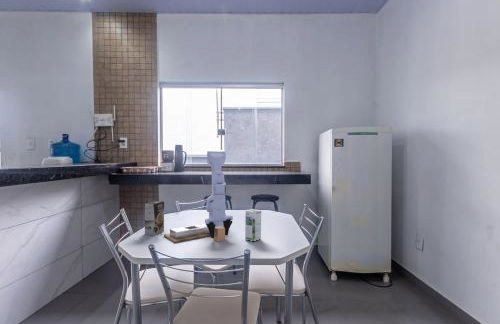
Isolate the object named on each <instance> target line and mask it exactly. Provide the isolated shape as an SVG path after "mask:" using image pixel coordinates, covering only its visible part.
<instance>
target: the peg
mask: <svg viewBox="0 0 500 324" xmlns="http://www.w3.org/2000/svg"><path fill="white" fill-rule="evenodd" d="M213 241H215V242H222V241H226V235H225V228H224V227H221V226H219V227H215V231H214V238H213Z"/></svg>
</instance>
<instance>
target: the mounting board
mask: <svg viewBox="0 0 500 324" xmlns="http://www.w3.org/2000/svg"><path fill="white" fill-rule="evenodd" d="M163 237H164V238H165V239H167V240H168V241H171V242H172V243H174V244H177V243H183V242H187V241H193V240H198V239H203V238H209V237H211V236H210V233H204V234H199V235H193V236H188V237H182V238H177V239H176V238H174V237H172V236H171V235H170V232H169V233H165V234H163Z"/></svg>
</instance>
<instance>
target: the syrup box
mask: <svg viewBox="0 0 500 324" xmlns="http://www.w3.org/2000/svg"><path fill="white" fill-rule="evenodd" d="M244 221H245V227H244V229H245V230H244V231H245V235H244V236H245V238H244V240H245V241H248V240H250V241H249V242H252V241H256V240H259V239H261V240H262V210H260V209H253V208H249V209H245V220H244ZM259 241H260V240H259ZM256 242H257V241H256Z"/></svg>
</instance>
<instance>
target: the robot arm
mask: <svg viewBox="0 0 500 324" xmlns="http://www.w3.org/2000/svg"><path fill="white" fill-rule="evenodd" d="M226 158H227V157H226V151H225V149H221V150H220V149H219V150H218V149H217V150H215V149H213V150H211V149H207V151H206V162H207V165H208V166H210V168H211V195H210V196H208V197H207V199H206V212H207V213H208V218H205V219H204V224H206V225H207V227H208V229H209V232H210V236H209V237H210V238H211V239H214V231H215V227H219V226H221V227H224V228H225V237H227V236H228V234H229V231H230V228H231V226H232V224H233V220H234V216H233V215H231V214H230V215H227V214H226V195H227V191H228V190H227V183H226V181H225V173H224V172H223V171H222V166H224V164H225V162H226Z"/></svg>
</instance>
